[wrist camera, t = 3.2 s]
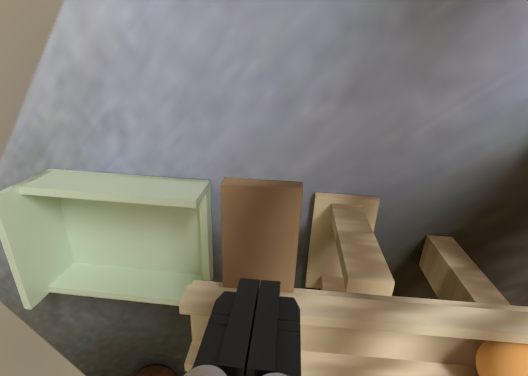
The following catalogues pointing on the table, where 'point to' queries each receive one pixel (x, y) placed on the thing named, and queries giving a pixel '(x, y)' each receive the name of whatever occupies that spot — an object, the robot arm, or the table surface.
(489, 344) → the ball
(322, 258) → the fulcrum
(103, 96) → the table surface
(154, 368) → the wooden figurine
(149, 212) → the tray
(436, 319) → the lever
